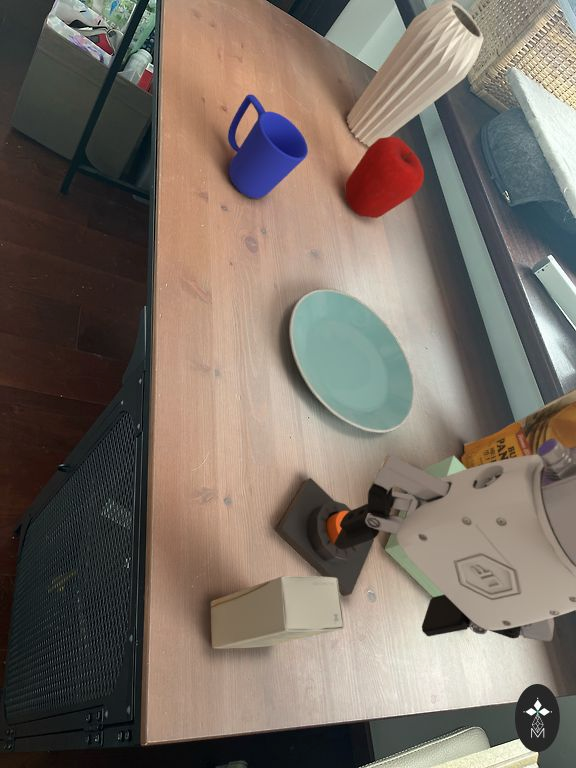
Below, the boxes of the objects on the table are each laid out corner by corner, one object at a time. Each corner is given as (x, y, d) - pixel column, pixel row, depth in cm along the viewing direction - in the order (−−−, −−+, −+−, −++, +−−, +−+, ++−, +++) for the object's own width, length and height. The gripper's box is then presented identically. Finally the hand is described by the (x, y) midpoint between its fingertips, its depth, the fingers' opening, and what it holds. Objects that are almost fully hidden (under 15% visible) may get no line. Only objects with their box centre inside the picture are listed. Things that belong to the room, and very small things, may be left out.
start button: (354, 529, 70) (364, 525, 69) (343, 553, 68) (354, 549, 67) (333, 508, 70) (343, 503, 69) (321, 532, 67) (331, 527, 66)
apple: (387, 222, 112) (444, 173, 103) (360, 234, 104) (418, 181, 95) (354, 175, 112) (408, 121, 103) (324, 183, 105) (379, 126, 95)
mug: (236, 138, 95) (273, 89, 88) (277, 202, 94) (317, 157, 87) (197, 140, 89) (233, 87, 82) (241, 208, 88) (281, 160, 81)
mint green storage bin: (480, 539, 88) (522, 526, 83) (459, 623, 78) (505, 613, 73) (414, 472, 85) (453, 455, 81) (384, 549, 75) (426, 534, 71)
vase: (339, 139, 115) (447, 21, 97) (332, 93, 122) (432, -26, 103) (391, 169, 122) (500, 64, 104) (381, 124, 129) (482, 18, 111)
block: (367, 542, 74) (384, 535, 72) (344, 596, 69) (362, 591, 67) (304, 480, 73) (320, 472, 71) (275, 530, 67) (291, 523, 65)
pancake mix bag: (478, 440, 98) (652, 359, 79) (512, 561, 90) (717, 503, 71) (451, 434, 95) (627, 347, 75) (483, 560, 86) (691, 499, 67)
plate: (249, 343, 77) (262, 332, 75) (325, 275, 93) (337, 265, 91) (364, 473, 79) (380, 465, 77) (419, 385, 95) (433, 376, 93)
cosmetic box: (262, 601, 62) (339, 575, 54) (265, 649, 60) (347, 629, 52) (207, 601, 59) (281, 573, 50) (209, 651, 57) (286, 631, 48)
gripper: (485, 449, 31) (287, 535, 43) (687, 668, 34) (448, 692, 46) (511, 368, 37) (328, 464, 48) (683, 563, 39) (470, 609, 51)
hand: (386, 575), depth 47 cm, fingers open, 9 cm apart
